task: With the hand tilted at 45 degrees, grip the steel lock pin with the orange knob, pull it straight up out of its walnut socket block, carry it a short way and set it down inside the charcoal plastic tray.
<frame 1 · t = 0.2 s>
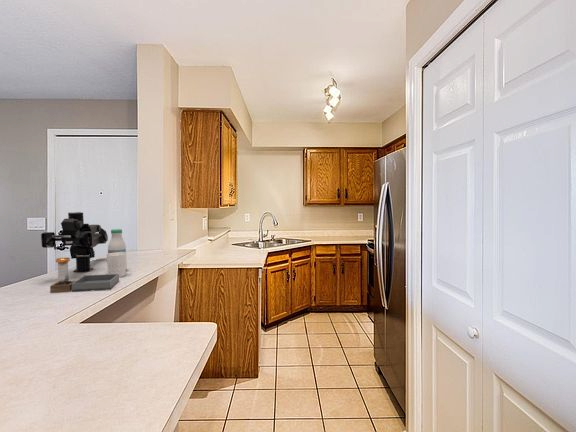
hand: (59, 243, 131), 17 cm above the countertop, tool horizontal, fingers open, 9 cm apart
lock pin: (63, 274, 125), in the socket block
white cup: (117, 276, 147), on the countertop
socket block: (63, 289, 126), on the countertop
tray: (96, 286, 131), on the countertop
milk bottle: (117, 271, 156), on the countertop
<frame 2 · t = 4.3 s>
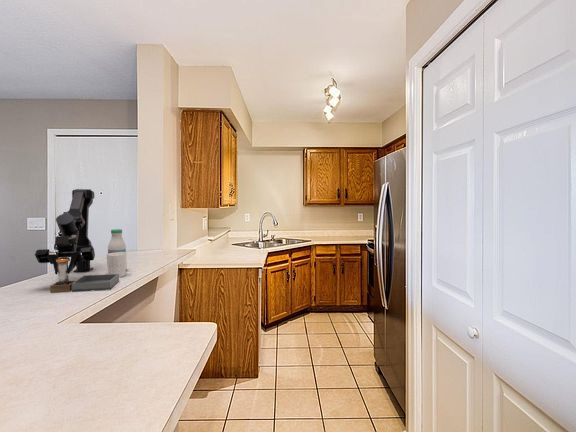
hand: (62, 273, 124), 7 cm above the countertop, tool tilted 45°, fingers closed on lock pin, 4 cm apart
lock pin: (63, 274, 125), in the socket block, touching gripper
everything else where it was.
when the fingers open (9 cm above the countertop, at t = 8.5 s): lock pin drops 1 cm, resting on tray.
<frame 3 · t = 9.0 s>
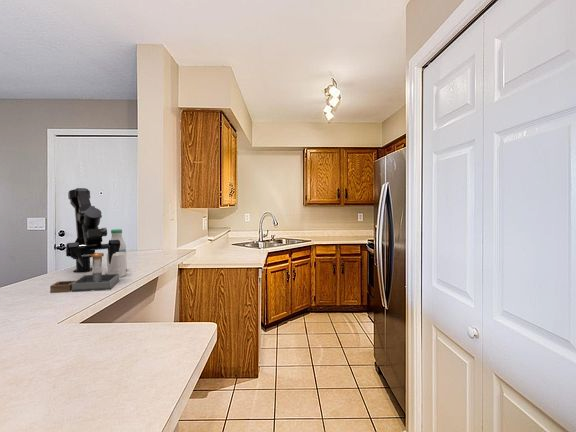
hand: (96, 264, 129), 9 cm above the countertop, tool tilted 45°, fingers open, 9 cm apart
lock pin: (97, 268, 131), in the tray, point 7 cm above the countertop
everything else where it was.
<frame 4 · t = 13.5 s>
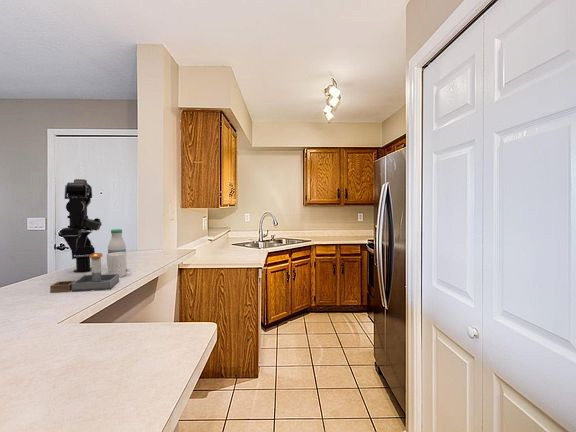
hand: (78, 250, 138), 13 cm above the countertop, tool pointing down, fingers open, 9 cm apart
at the end: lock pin inside the target area on the tray (0.1 cm from its centre), point 6.8 cm above the tray's base; the gripper is holding nothing; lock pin moved 10.9 cm from its start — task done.
